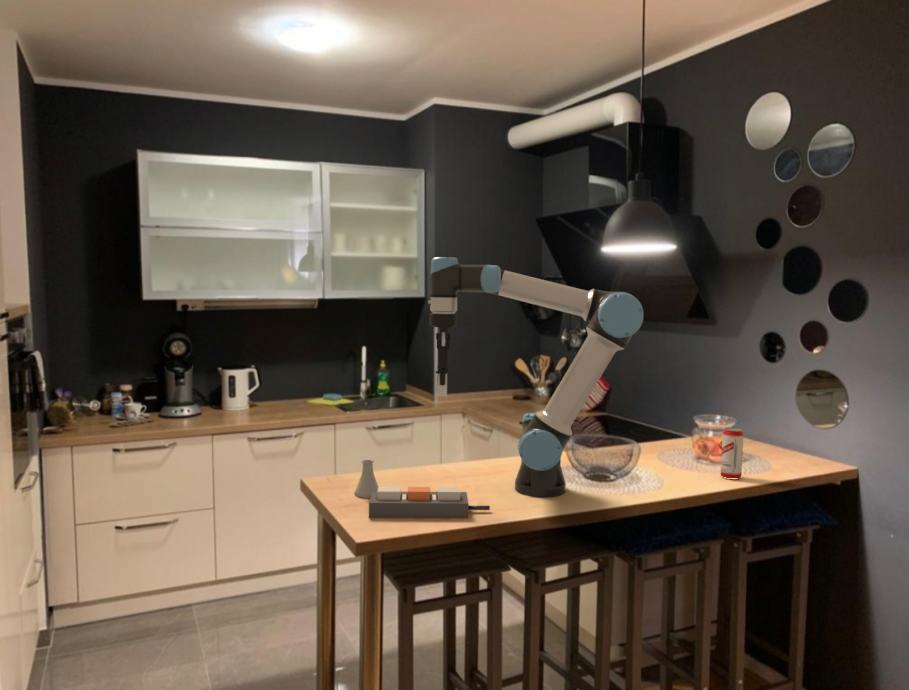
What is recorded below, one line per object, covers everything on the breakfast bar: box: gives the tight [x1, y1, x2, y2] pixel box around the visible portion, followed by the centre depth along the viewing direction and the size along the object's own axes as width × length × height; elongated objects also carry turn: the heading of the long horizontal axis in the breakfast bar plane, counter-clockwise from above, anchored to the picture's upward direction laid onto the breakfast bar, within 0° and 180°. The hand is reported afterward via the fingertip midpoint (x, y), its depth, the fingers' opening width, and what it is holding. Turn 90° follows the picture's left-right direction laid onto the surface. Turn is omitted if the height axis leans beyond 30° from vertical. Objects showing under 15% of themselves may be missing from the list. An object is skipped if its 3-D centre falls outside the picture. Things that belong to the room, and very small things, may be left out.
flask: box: [353, 459, 379, 499], centre depth 206 cm, size 7×7×10 cm
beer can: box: [720, 427, 744, 479], centre depth 230 cm, size 6×6×16 cm
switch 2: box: [407, 486, 431, 500], centre depth 192 cm, size 6×4×4 cm
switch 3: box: [437, 486, 462, 500], centre depth 192 cm, size 6×4×4 cm
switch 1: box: [377, 486, 402, 500], centre depth 191 cm, size 6×4×4 cm
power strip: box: [368, 491, 491, 519], centre depth 192 cm, size 32×10×4 cm, turn 92°
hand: (442, 395), depth 202 cm, fingers closed
